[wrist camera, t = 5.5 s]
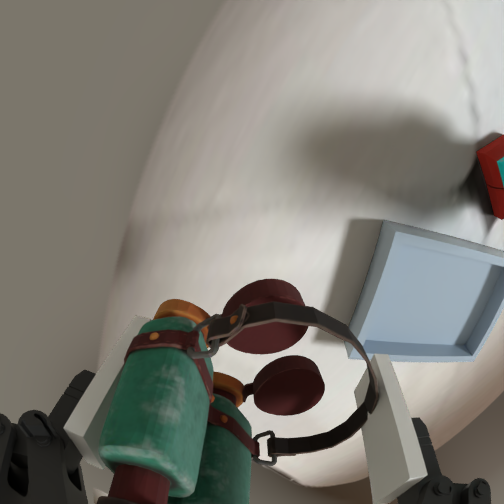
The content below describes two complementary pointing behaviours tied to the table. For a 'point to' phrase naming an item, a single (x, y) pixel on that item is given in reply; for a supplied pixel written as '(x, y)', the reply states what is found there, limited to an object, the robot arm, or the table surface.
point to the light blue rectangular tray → (427, 297)
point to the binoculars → (214, 398)
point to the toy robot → (494, 173)
